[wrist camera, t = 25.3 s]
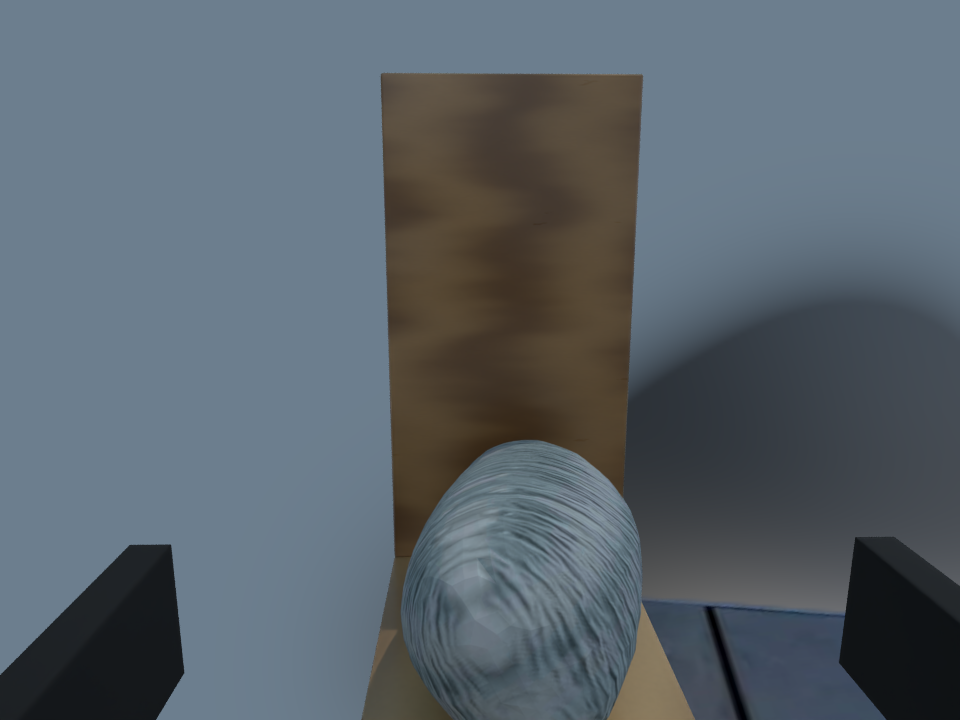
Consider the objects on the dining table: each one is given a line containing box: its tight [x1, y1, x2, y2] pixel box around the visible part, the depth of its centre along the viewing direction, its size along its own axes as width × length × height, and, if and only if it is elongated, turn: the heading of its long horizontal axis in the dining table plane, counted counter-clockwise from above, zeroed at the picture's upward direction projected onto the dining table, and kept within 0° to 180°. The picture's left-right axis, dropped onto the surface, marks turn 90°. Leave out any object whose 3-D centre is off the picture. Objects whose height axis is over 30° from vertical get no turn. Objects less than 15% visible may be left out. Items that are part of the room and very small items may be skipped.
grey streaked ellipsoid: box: [401, 440, 642, 720], centre depth 27 cm, size 14×10×10 cm
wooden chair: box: [362, 73, 695, 720], centre depth 27 cm, size 12×19×46 cm, turn 1°
